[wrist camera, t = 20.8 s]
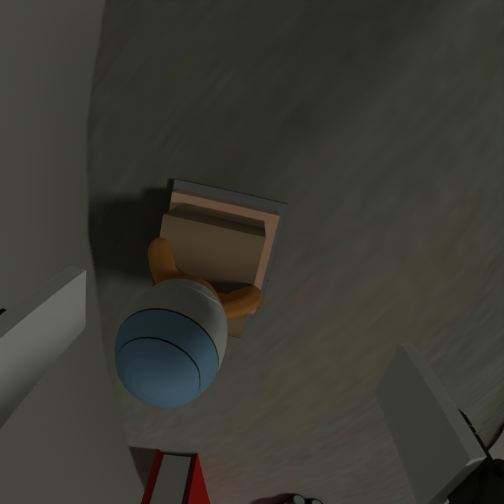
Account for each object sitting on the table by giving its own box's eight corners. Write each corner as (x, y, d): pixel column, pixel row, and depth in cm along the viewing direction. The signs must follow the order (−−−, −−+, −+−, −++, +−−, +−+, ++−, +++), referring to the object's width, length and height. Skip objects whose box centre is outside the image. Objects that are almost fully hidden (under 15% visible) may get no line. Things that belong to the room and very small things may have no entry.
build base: (176, 178, 39) (165, 181, 34) (287, 203, 39) (290, 209, 35) (159, 281, 43) (147, 296, 38) (260, 305, 43) (260, 323, 38)
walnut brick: (183, 202, 35) (163, 214, 27) (264, 220, 35) (265, 237, 27) (169, 285, 37) (149, 315, 30) (243, 303, 38) (240, 338, 30)
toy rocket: (187, 347, 32) (103, 437, 17) (137, 254, 31) (20, 298, 17) (277, 311, 29) (228, 417, 14) (222, 204, 28) (117, 221, 14)
